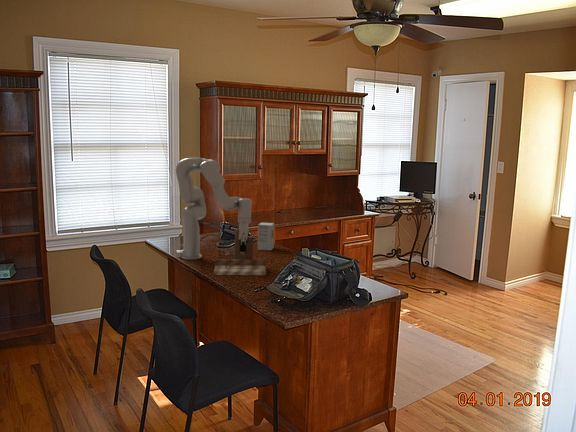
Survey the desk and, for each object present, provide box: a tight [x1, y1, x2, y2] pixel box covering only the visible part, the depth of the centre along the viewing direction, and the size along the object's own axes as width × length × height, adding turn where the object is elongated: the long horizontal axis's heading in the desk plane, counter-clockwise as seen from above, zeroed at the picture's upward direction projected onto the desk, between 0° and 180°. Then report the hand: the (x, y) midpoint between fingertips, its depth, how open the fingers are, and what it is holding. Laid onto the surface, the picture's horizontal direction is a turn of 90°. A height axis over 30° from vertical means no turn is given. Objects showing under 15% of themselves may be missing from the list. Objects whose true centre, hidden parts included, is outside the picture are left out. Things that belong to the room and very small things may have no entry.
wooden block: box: [232, 228, 254, 260], centre depth 293 cm, size 4×11×18 cm, turn 108°
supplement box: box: [257, 222, 275, 251], centre depth 334 cm, size 10×9×17 cm
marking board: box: [213, 258, 267, 276], centre depth 280 cm, size 28×14×5 cm, turn 94°
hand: (242, 250), depth 294 cm, fingers closed on wooden block, 4 cm apart
